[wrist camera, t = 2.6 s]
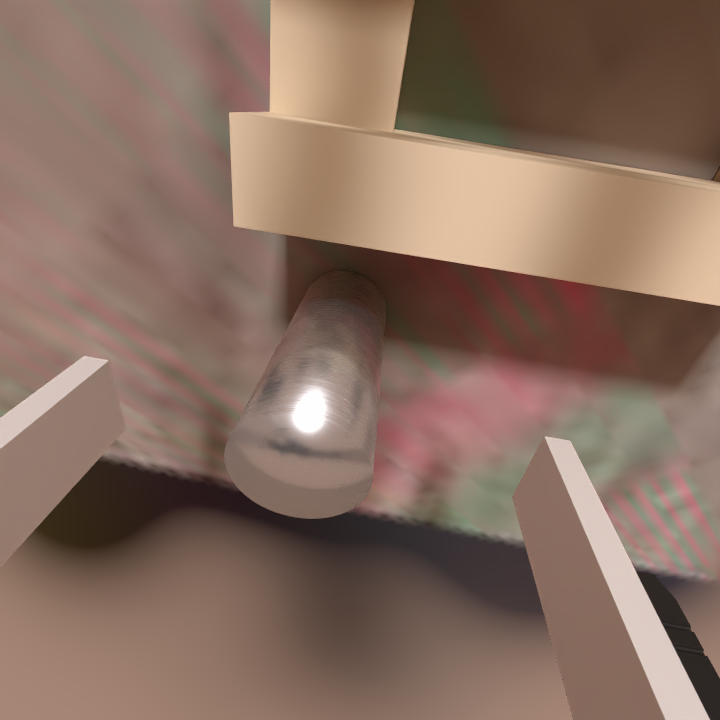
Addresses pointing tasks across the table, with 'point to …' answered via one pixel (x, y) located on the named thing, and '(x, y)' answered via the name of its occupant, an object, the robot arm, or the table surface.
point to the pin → (316, 405)
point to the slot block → (448, 173)
